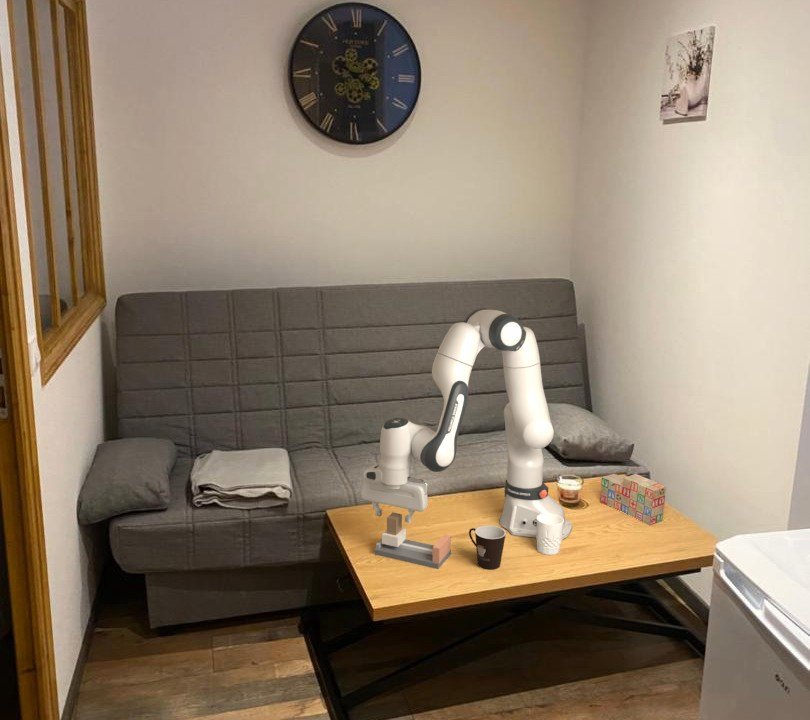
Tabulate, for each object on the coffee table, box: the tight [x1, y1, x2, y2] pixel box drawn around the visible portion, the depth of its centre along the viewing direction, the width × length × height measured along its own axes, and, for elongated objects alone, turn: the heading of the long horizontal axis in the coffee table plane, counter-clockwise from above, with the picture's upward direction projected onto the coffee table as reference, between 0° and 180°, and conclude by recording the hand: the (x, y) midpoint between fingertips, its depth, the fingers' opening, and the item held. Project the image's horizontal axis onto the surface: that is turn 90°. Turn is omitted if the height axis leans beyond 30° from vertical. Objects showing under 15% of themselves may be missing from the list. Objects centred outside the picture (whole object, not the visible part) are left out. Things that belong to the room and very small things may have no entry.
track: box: [373, 534, 452, 570], centre depth 237 cm, size 20×10×6 cm, turn 66°
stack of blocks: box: [599, 473, 667, 526], centre depth 267 cm, size 21×6×12 cm, turn 34°
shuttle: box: [381, 511, 407, 547], centre depth 238 cm, size 5×6×8 cm
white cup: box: [536, 513, 564, 556], centre depth 240 cm, size 8×8×10 cm
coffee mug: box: [468, 524, 507, 571], centre depth 232 cm, size 12×9×10 cm
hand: (393, 518), depth 237 cm, fingers open, 8 cm apart
